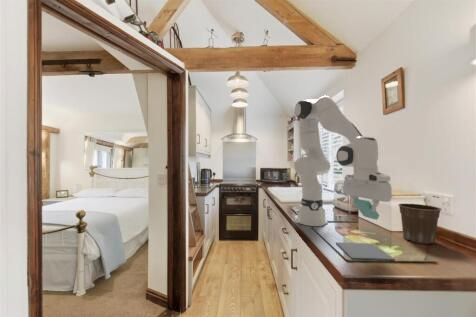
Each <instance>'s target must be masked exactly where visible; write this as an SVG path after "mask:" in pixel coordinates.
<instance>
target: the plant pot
mask: <svg viewBox="0 0 476 317" xmlns="http://www.w3.org/2000/svg"><path fill="white" fill-rule="evenodd" d="M398 207H399V213H400V219H401V227H402V228H401V229H402V238H403V239H405V240H406V241H410V242H412V243H418V244H420V245H421V244H422V245H431V244H435V243H436V239H437V238H436V236H437V231H438V230H437V229H438V223H439V222H438V220H439V218H440V213H441V211H442V208H440V207H437V206H433V205H427V204H419V203H398Z"/></svg>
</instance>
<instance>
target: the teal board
mask: <svg viewBox="0 0 476 317" xmlns="http://www.w3.org/2000/svg"><path fill="white" fill-rule="evenodd" d="M353 204H355V205H356V206H357V207H356V208H357V210H358V211H359V212H360V213H361V214H362V216H363V217H365V218H369V219H371V220H372V219H373V220H375V221H376V220H378V219H379V217H380V214H379V213H378V211H377V210H376V211H370V206H372V205H373V204H372V203H371V202H370V201H369V200H366V199H360V198H358V199H356V200H355V201H354V202H353Z"/></svg>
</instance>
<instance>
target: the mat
mask: <svg viewBox="0 0 476 317" xmlns="http://www.w3.org/2000/svg"><path fill="white" fill-rule="evenodd" d="M335 244H336V246H338V247H339V248H340V249H341V250H342V251H343V252H344V254H346V253H347V254H348V255H349V256H350V257H351V258H352V259H351V258H350V257H349V256H348V255H347V254H346V255H347V256H348V257H349V258H350V259H351V260H364V259H368V261H372V260H373V261H391V260H392V261H396V258H394V257H393V256H391V255H390V254H388V253H387V252H386V251H384V250H383V249H382V248H380V247H378V246H377V245H376V244H374V243H364V242H363V243H362V242H339V241H338V242H335Z"/></svg>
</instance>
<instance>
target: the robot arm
mask: <svg viewBox="0 0 476 317" xmlns="http://www.w3.org/2000/svg"><path fill="white" fill-rule="evenodd" d="M294 113H295V114H294V115H295V116H296V117H297V118H298V119H300V121H299V140H300V148H301V150H303V152H304V153H305V155H306V156H302V157H299V158H297V159H296V160H295V161H294V164H293V168H294V171H295V172H296V174H297V175H298V176H299V179H300V182H301V187H302V189H301V193H302V195H301V196H302V197H301V200H300V207H298V209H296V211H295V213H296V214H297V215H295V216H294V222H295V223H296V224H301V225H304V226H311V227H322V226H324V225H328V224H329V222H328V221H327V220H326V209H325V207H323V204H324V201H323V200H324V199H323V186H322V184H321V183H320V182H319V179H318V176H322V175H325V174H327V173H328V172H329V171H330V170H331V163H330V161H329V159H327V157H326V156H325V154H324V152H323V148H322V145H321V137H320V130H319V124H320V125H321V126H322V128H323V129H324V130H326V131H328V132H331V133H335V134H338V135H341V136H343V137H344V138H345V139H347V140H348V142H349V143H348V144H345V145H342V146H340V147H339V148H338V149H337V152H336V155H335V156H336V161H337V163H338V164H339V165H340V166H342V167H346V168H348V167H350V168H351V167H352V168H353V174H350V173H349V174H346V175H345V176H344V181H343V186H342V192H343V195H346V196H351V200H352V201H353V202H354V201H355V200H356V199H359V198H362V199H365V200H366V199H367V200H371V202H372V203H373V204H371V205H372V206H370V211H377V207H378V205H379V204H380V202H383V203H386V202H390V201H391V200H392V196H393V195H392V193H393V192H392V191H393V190H392V184H391V183H390V182H391V176H390V175H389V174H385V173H383V172H381V171H378V170H379V168H378V160H379V146H378V145H379V144H378V141H377V139H376V138H374V137H373V136H372V137H370V136H363V135H362V133H361V132H360V130H359V129H358V128H357V127H356V126H355V124H354V123H353V122H352V121H350V120H349V119H348V118H347V117H346V115H344V114H343V112H342V111H341V109H340V108H339V106H338V104H337V103H336V102H335V101H334V99H332V97H330V96H328V95H327V96H326V95H324V96H320V97H319V98H317V99H302V100H299V101H297V103H296V104H295V108H294ZM353 204H354V203H353ZM353 206H354V207H355V208H357V206H356V205H355V204H354V205H353Z"/></svg>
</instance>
